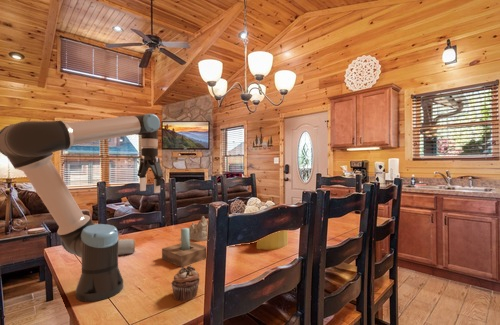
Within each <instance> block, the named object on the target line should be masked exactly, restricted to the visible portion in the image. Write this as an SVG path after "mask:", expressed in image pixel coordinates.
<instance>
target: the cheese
mask: <svg viewBox="0 0 500 325" xmlns="http://www.w3.org/2000/svg"><path fill="white" fill-rule="evenodd" d="M255 243H256V242H254V243H253V244H255ZM288 244H289V230H288V231H280V232H277V233H274V234H271V235H269V236H267V237H265V238H263V239H261V240H258V241H257V243H256V250H277V249H282V248H285V247H286V246H288Z"/></svg>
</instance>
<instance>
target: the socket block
mask: <svg viewBox="0 0 500 325" xmlns="http://www.w3.org/2000/svg"><path fill="white" fill-rule="evenodd" d="M189 244H190V249H189V250H185V251H183V250H181V242H180V243H177V244H173V245H170V246H166V247H163V248H161V259H162V260H163V261H166V262H169V263H171V264H173V265H175V266H178V267H180V268H182V267H184V268H185V267H186V266H190V265H192V264H194V263H198V262H200V261H203V260H205V258H206V247H207V246H205V245H203V244H199V243H196V242H195V241H194V242H193V241H192V240H189ZM206 259H207V258H206Z"/></svg>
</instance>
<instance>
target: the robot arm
mask: <svg viewBox="0 0 500 325" xmlns="http://www.w3.org/2000/svg"><path fill="white" fill-rule="evenodd" d="M160 126H161V120H160V118H159V117H158V115H156V114H154V113H146V114H137V115H126V116H121V115H119V116H118V117H109V118H101V119H92V120H83V121H82V120H81V121H72V122H65V121H63V120H49V121H48V120H46V121H45V120H43V121H41V120H38V121H37V120H36V121H35V120H32V121H31V120H26V121H20V122H17V123H12V124H9V125H6V126H5V127H3V128H1V130H0V153H1V154H2V155H3V156H5V157H6V158H7V159H8V160H9V162H10V164H11V165H12V167H13V168H14V169H15V170H17V171H18V170H19V171H22V172H23V173H24V175H25V176H26V178H27V180H28V181H29V183H30V184H31V185H32V187H33V189H34V190H35V192H36V193H37V195H38V196H39V198H40V200H41V201H42V203H43V204H44V206H45V207H46V209H47V211H48V212H49V214H50V215H51V217H52V218H53V219H54V221H55V223H56V225H57V226H58V229H57V231H56V233H57V235H58V236H59V238H60V244H61V246H62V248H63V249H64V251H66V252H68V253H69V254H72V255H75V256H77V257H79V258H81V274H80V277H79V280H78V283H77V285H76V288H75V298H76V299H77V300H78V301H80V302H95V301H97V302H99V301H101V300H106V299H108V298H111V297H113V296H115V295H117V294H118V293H120V292H121V291H122V290H123V289H124V279H123V276H122V273H121V271H120V269H119V255H118V240H119V231H118V229H117V227H116V226H114V225H112V224H108V223H107V224H104V223H97V224H95V223H94V221H93V220H92V218H91V216H90V215H87V214H84V213H83V211H82V209H81V208H80V207H79V205H78V203H77V202H76V200H75V198H74V195H72V193H71V191H70V190H69V187H68V186H67V184H66V183H65V181H64V180H63V178H62V176H61V174H60V173H59V171H58V170H57V167H56V166H55V164H54V163H53V161H52V159H53V158H54V157H53V156H54V153H56V152H59V151H65V150H69V149H70V148H71V147H72V146H73V145H74V146H75V145H82V144H87V143H93V142H98V141H103V140H104V141H105V140H110V139H115V138H122V137H127V136H132V135H137V136H140V147H141V150H140V151H141V152H140V153H141V157H140V161H139V166H138V171H137V177H139V191H140V192H145V191H146V190H147V176H146V175H147V172H148V171H149V169H151V172H152V174H153V193H154V194H160V193H161V179H162V178H163V179H164V174H163V169H162V167H161V165H162V164H161V162H160V159H161V158H160V157H158V156H159V149H158V147H159V146H158V144H159V142H158V141H159V140H158V139H159V137H158V136H159V134H158V133H159V129H160Z"/></svg>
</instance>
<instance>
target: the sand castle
mask: <svg viewBox="0 0 500 325" xmlns="http://www.w3.org/2000/svg"><path fill="white" fill-rule="evenodd" d="M208 221H209V220H207V219H206V218H205V215H201V219H200V220H199V221H198V222H197V223H194V222H191V224H190V226H189V227H188V228H189V241H194V242H195V241H196V242H206V241H207V225H208ZM207 242H208V241H207Z"/></svg>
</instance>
